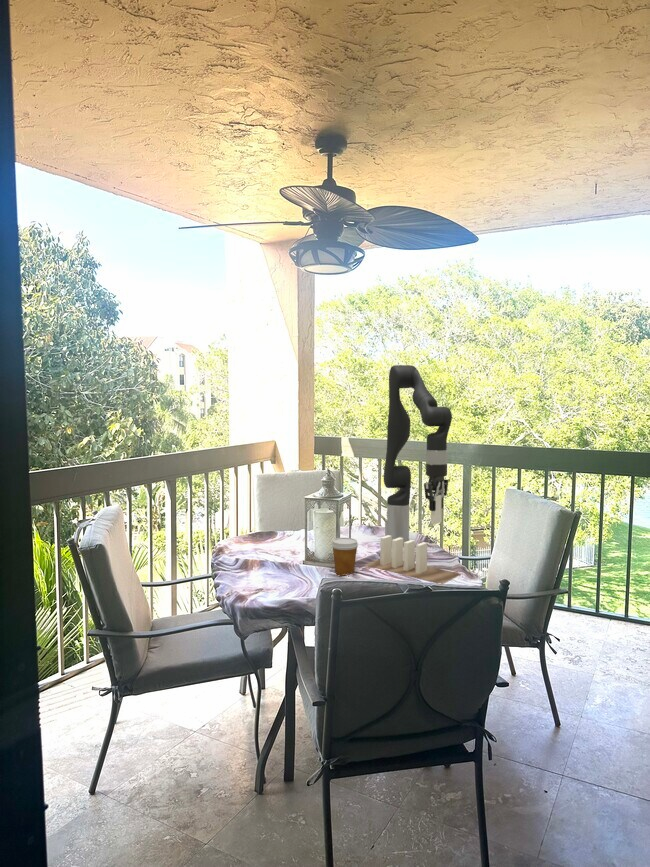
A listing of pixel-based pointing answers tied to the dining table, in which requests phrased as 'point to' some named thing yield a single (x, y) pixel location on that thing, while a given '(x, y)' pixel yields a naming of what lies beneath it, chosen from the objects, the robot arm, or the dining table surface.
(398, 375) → the robot arm
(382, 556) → the domino
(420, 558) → the domino
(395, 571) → the walnut board
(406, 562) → the domino
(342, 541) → the disposable coffee cup
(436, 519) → the domino
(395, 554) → the domino
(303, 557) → the dining table surface
